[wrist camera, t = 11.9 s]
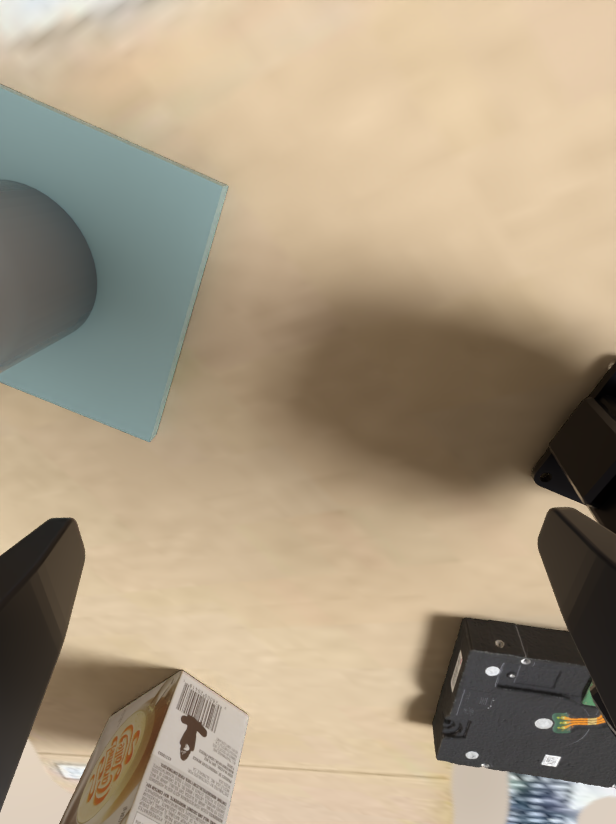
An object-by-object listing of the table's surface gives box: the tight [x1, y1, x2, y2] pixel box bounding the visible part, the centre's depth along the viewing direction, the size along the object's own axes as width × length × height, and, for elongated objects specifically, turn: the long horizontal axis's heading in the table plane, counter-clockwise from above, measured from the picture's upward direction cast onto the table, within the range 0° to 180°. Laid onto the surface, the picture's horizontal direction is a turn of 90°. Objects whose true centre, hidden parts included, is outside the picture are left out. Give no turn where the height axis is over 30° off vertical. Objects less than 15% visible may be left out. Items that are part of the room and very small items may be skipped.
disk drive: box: [432, 618, 616, 788], centre depth 28 cm, size 10×3×15 cm
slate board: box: [0, 84, 228, 442], centre depth 20 cm, size 14×12×1 cm
